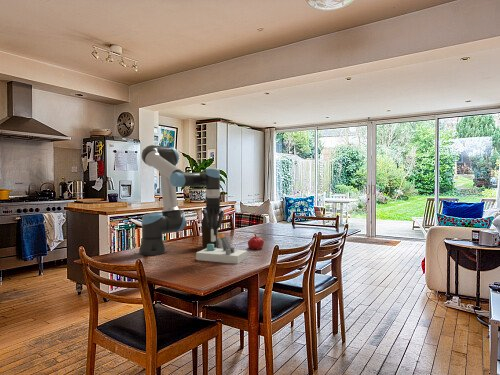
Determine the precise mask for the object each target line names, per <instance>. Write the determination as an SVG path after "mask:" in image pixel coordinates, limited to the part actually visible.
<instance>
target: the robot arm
mask: <svg viewBox="0 0 500 375" xmlns="http://www.w3.org/2000/svg"><path fill="white" fill-rule="evenodd" d="M141 160H142V162H143V163H144V164H146V165H147V166H148V167H153V168H154V169H156V171H158V172H159V175H160V176H159V177H160V185H161V195H162V196H161V197H162V205H163V209H162V210H161V211H156V212H148V213H145V214H143V215H142V216H141V217H142V218H141V243H140V246H139V248H138V254H139V255H141V254H142V256H156V255H163V254H165V253H166V252H167V249H166V245H165V242H164V239H163V238H164V237H163V235H164V234H171V233H178V232H181V231H182V230H184V229H185V226H186V223H187V222H186V220H187V219H186V216H185V214H184V213H183V212H182V211H181V209H180V208H179V207H178V199H177V198H178V197H177V187H178V188H182V187H183V188H185V187H199V188H200V187H205V197H206V198H205V205H206V206H205V208H204V209H203V210H201V214H202V215H203V218H204V220H205V224H206V228H209V232H210V235H211V242H214V241H216V235H217V236H218V233H217V229H218V230H219V229H221V226H222V221H223V217H224V214H225V210H223V208H222V209H221V198H220V197H221V174H220V173H221V172H220V169H219V168H206V169H205V172H185V171H182V169H180V168H178V166H177V164H178V163H179V161H180V154H179V152H178V150H177V149H176V147H173V146H168V145H157V144H156V145H154V144H151V145H147V146H146V147H145V148H143V150H142V152H141ZM207 212H208V213H209V219H208V215H207ZM217 220H218V222H217Z"/></svg>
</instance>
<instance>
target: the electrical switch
mask: <svg viewBox="0 0 500 375" xmlns="http://www.w3.org/2000/svg"><path fill="white" fill-rule="evenodd" d="M225 237H226V239H227V241H228V243H229V245H230V247H232V244H231V239H230V236H229V235H226V236H225ZM223 245H224V244H223V242H222V240H221V239H220V238H219V237H217V240H216V246H217V247H216V248H219V249H223Z"/></svg>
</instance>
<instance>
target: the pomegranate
mask: <svg viewBox="0 0 500 375" xmlns="http://www.w3.org/2000/svg"><path fill="white" fill-rule="evenodd" d="M261 237H262V236H257V234H256V233H254V235H251V237H250V239H248V241H247V247H248V248H249V249H250V250H261V249H262V248H263V247H264V239H263V238H261Z"/></svg>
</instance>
